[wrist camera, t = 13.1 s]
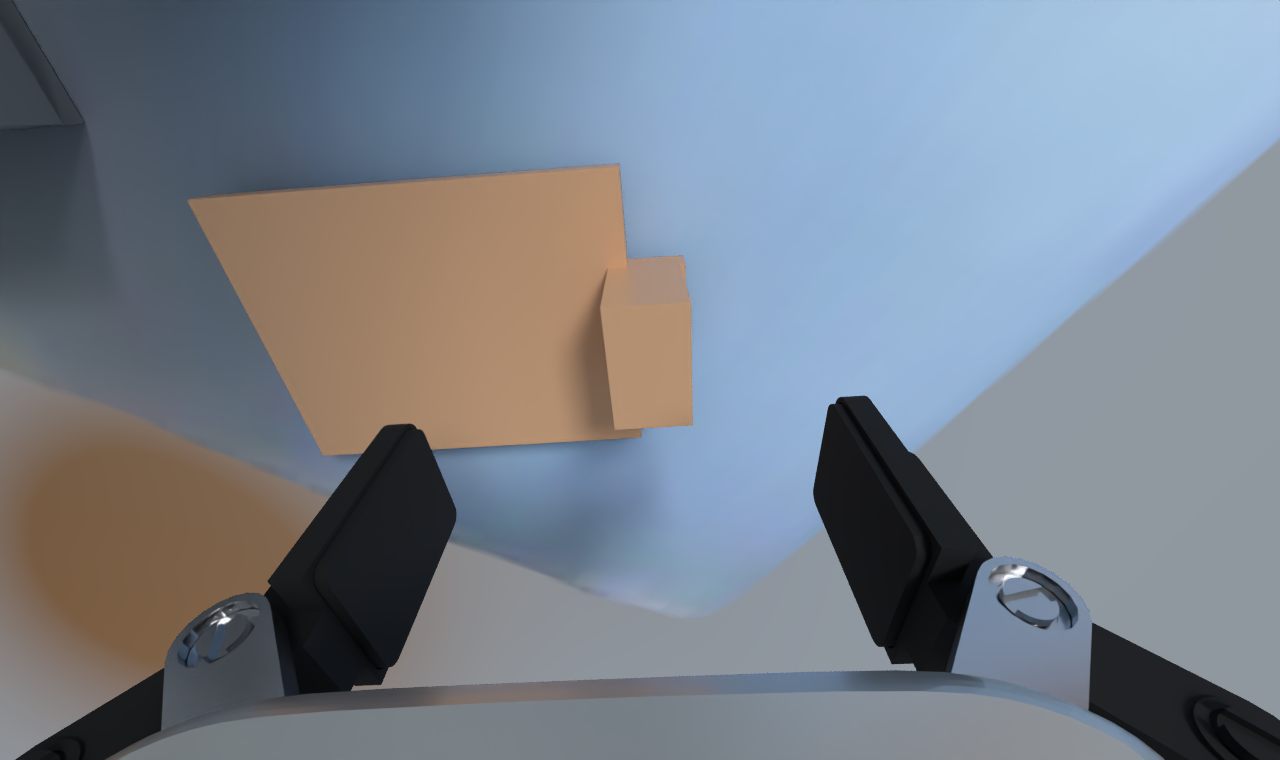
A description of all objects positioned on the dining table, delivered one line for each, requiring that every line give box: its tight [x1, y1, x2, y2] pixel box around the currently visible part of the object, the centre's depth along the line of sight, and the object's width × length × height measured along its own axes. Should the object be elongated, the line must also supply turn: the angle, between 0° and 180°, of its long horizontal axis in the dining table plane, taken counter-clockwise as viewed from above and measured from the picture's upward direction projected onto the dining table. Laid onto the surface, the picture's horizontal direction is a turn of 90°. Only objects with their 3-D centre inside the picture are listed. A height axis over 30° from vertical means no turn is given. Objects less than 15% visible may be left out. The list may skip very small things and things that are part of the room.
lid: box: [187, 163, 693, 456], centre depth 20 cm, size 19×13×7 cm, turn 94°
